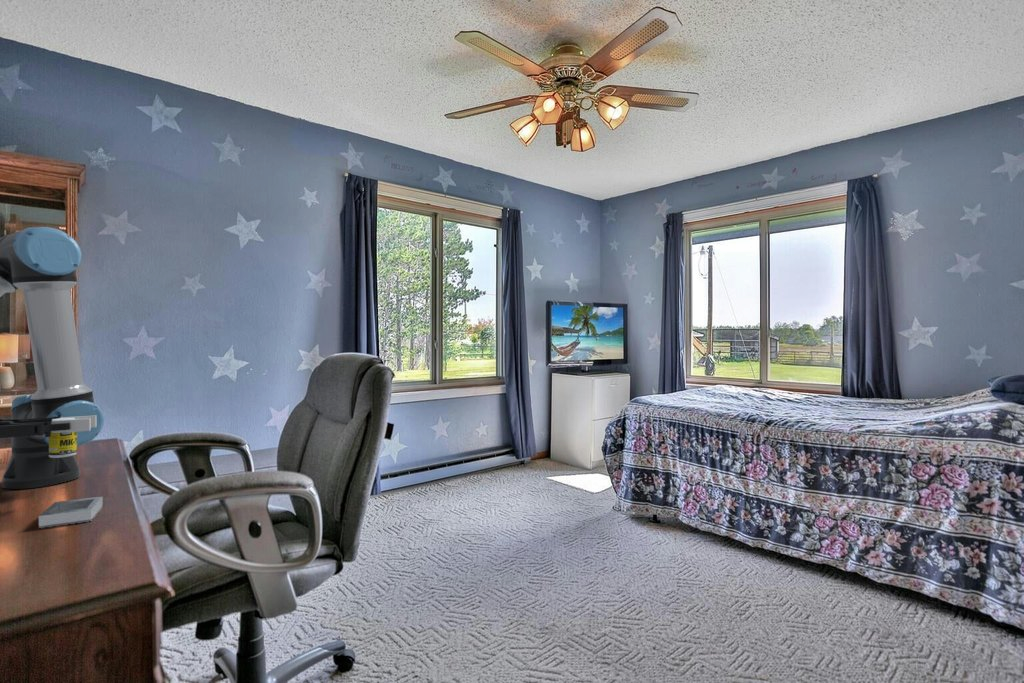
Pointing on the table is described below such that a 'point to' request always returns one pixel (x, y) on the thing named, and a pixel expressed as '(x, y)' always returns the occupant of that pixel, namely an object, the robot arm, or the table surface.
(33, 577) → the table surface
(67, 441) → the supplement bottle
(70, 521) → the rectangular metal tray
